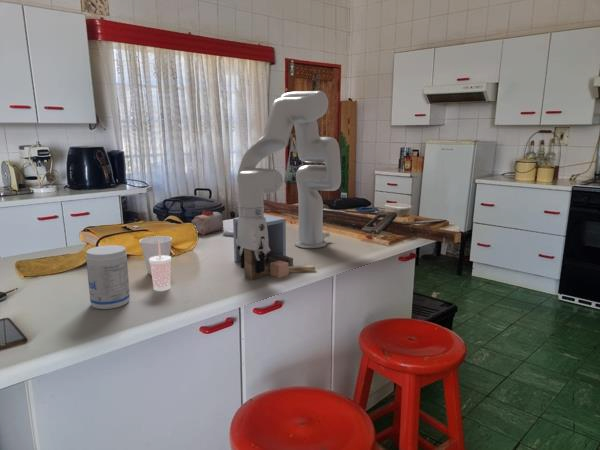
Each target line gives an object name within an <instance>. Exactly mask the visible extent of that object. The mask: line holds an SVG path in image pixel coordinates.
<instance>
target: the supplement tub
mask: <svg viewBox="0 0 600 450" xmlns="http://www.w3.org/2000/svg"><path fill="white" fill-rule="evenodd" d="M85 252H86V253H85V254H86V256H85V259H86V261H85V262H86V270H87V280H88V281H87V282H88V292H89V303H90V306H91V307H93V308H94V309H99V310H110V309H111V310H112V309H116V308H120V307H123V306H125V305H126V304H128V302H130V299H131V298H130V296H131V295H130V285H129V284H130V281H129V269H128V268H129V267H128V255H127V254H128V253H127V250H126V247H125V246H123V245H115V244H109V245H99V246H95V247H91V248H89V249H87V250H86V251H85Z"/></svg>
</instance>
